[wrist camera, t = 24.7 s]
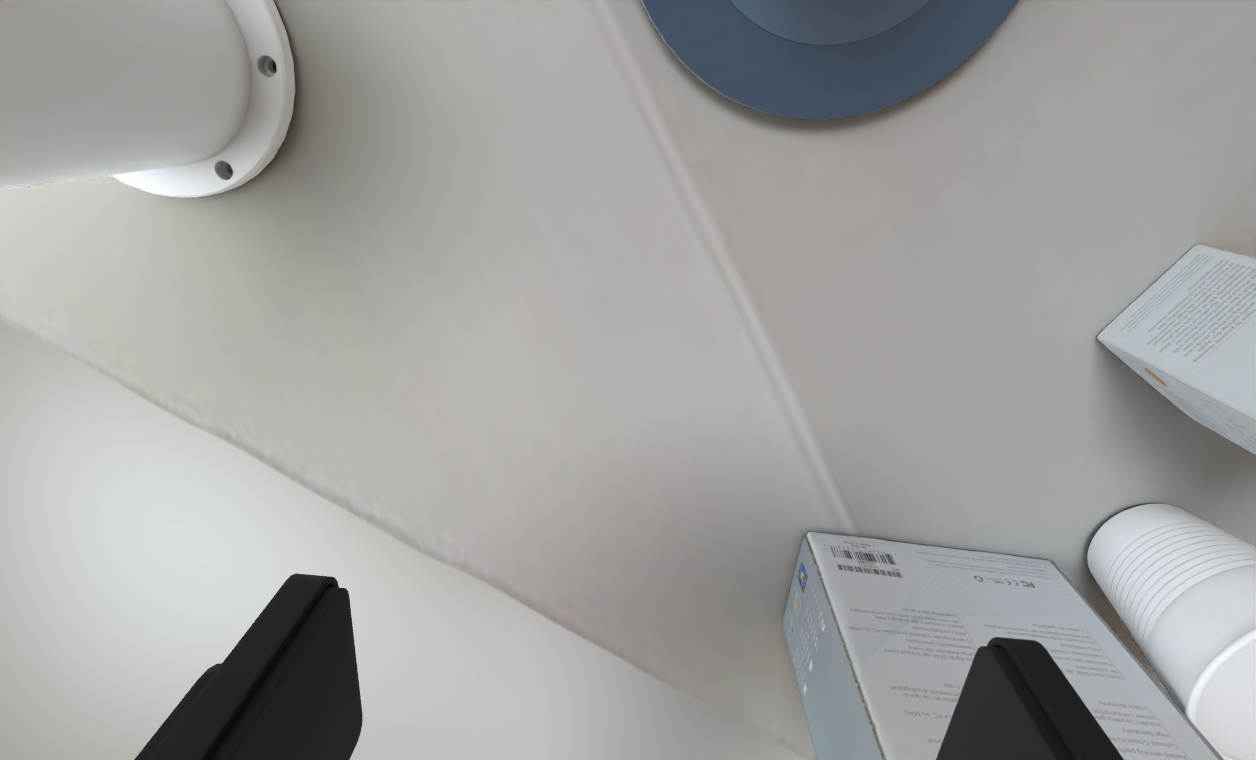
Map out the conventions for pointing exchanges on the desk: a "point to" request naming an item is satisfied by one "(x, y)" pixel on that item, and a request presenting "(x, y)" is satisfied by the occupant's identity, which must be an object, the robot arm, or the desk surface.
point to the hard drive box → (951, 648)
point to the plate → (823, 49)
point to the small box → (1197, 340)
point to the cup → (1187, 614)
